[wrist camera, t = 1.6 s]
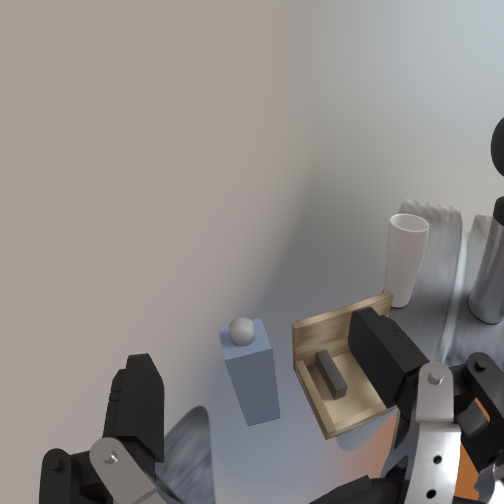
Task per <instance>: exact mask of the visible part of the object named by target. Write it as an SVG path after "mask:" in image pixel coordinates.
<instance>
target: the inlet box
mask: <svg viewBox="0 0 504 504" xmlns="http://www.w3.org/2000/svg"><path fill="white" fill-rule="evenodd" d="M393 296H394V295H393V294H392V293H391V292H390V291H388V292H385V293H382V294H380V295H377V296H374V297H372V298H369V299H366V300H363V301H360V302H358V303H354V304H351V305H348V306H345V307H343V308H339V309H336V310H333V311H330V312H327V313H324V314H321V315H317V316H314V317H311V318H307V319H304V320H301V321H297V322H294V323H292V335H293V336H292V337H293V367H294V370H295V372H296V374H297V377H298V379H299V381H300V383H301V386H302V388H303V390H304V393H305V395H306V397H307V399H308V402H309V404H310V406H311V408H312V410H313V413H314V415H315V417H316V419H317V422H318V424H319V426H320V428H321V430H322V433H323V434H324V437H325V439H326V440H327V439H330V438H333V437H335V436H338V435H340V434H342V433H345V432H347V431H350V430H352V429H354V428H356V427H359V426H361V425H363V424H365V423H367V422H369V421H371V420H373V419H375V418H377V417H379V416H381V415H383V414H385V413H387V412H389V411H391V410H393V409H395V408H396V407H397V405H396V406H394V407H392V408H389V409H387V408H386V407H385V405H384V403H383V402H382V400H381V399H380V397H379V395H378V394H377V392H376V391H375V389H374V387H373V386H372V384H371V383H370V381H369V380H368V378H367V376H366V375H365V373H364V372H363V370H362V369H361V367H360V365H359V364H358V362H357V361H356V359H355V358H354V356H353V355H352V353H351V351H350V349H349V346H348V334H349V327H350V320H351V314H352V312H353V311H356V310H359V309H363V308H366V307H372V308H373V309H374V310H375V311H376V312H377V314H378V315H379V316H381V315H385V316H386V317H389V313H390V309H391V305H392V301H393Z"/></svg>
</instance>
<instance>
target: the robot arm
mask: <svg viewBox="0 0 504 504" xmlns="http://www.w3.org/2000/svg"><path fill="white" fill-rule="evenodd" d="M491 156H492V160H493V163H494V166H495V167H496V169H497V171H498V172H499V173H500V174H501V175H502V176H504V118H503V119H501V120H500V122H499V123H498V124H497V126H496V128H495V130H494V133H493V136H492V141H491ZM468 305H469V308H470V310H471V311H472V313H473V314H474V315H475V316H476V317H477V318H479V319H480V320H482V321H484V322H486V323H491V324H495V323H499V322H501V321H502V320H503V318H504V196H503V197H500V198H498V199H497V200H496V203H495V206H494V212H493V217H492V222H491V226H490V231H489V235H488V239H487V243H486V247H485V251H484V254H483V258H482V261H481V264H480V268H479V271H478V274H477V277H476V280H475V282H474V285H473V288H472V291H471V294H470V296H469V299H468ZM348 346H349V349H350V351H351V353H352V355H353V356H354V358H355V359H356V361H357V362H358V364H359V365H360V367H361V369H362V370H363V372H364V373H365V375H366V376H367V378H368V380H369V381H370V383H371V384H372V386H373V387H374V389H375V391H376V392H377V394H378V395H379V397H380V399H381V400H382V402H383V403H384V405H385V407H386V408H387V409H389V408H392V407H394V406H396V405H397V407H398V408H399V411H398V414H397V419H396V425H395V431H394V436H393V441H392V445H391V449H390V453H389V455H388V457H387V459H386V461H385V464H384V466H383V469H382V472H381V476H380V478H373V479H369V477H368V475H366V476H364V477H361V478H359V479H357V480H354V481H352V482H349V483H347V484H344V485H342V486H339V487H337V488H335V489H334V490H332V491H330V492H329V493H327V494H325V495H323V496H322V497H320V498H318V499H316V500H315V501H313V502H311V503H309V504H504V373H503V372H502V371H501V370H500V368H499V367H498V366H497V365H496V364H495V362H494V361H493V360H492V359H491V358H490V357H489V356H488V355H486V354H484V353H481V352H476V353H473V354H471V355H470V356H469V358H468V360H467V361H466V363H465V364H462V365H457V366H453V367H447V366H446V365H444V364H442V363H440V362H430V361H429V360H428V359H427V358H426V357H425V355H424V354H423V353H422V352H421V351H420V350H419V348H418V347H417V346H416V345H415V344H414V343H413V342H412V340H411V339H410V338H409V337H407V335H406V334H405V332H404V331H403V330H401V328H400V327H399V326H398V325H397V324H396V322H395V321H394V320H392V319H390V318H388V317H386V316H385V315H381V316H379V315H378V314H377V312H376V311H375V310H374V309H373V308H372V307H366V308H363V309H359V310H356V311H353V312H352V314H351V320H350V327H349V334H348ZM476 397H477V398H478V400H479V401H480V403H481V404H482V405H483V407H484V408H485V410H486V411H487V413H488V414H489V417H490V422H489V421H488V420H487V418H486V417H485V416H484V414H483V412H482V411H481V410H480V408H479V407H478V405H477V404H476V402H475V401H474V400H475V399H476ZM460 441H461V443H462V444H463V446H464V448H465V450H466V451H467V453H468V455H469V457H470V459H471V461H472V462H473V464H474V466H475V468H476V470H477V472H478V474H479V476H478V480H477V482H476V483H475V485H474V489H475V490H476V491H479V498H478V501H475V500H471V499H465V498H461V497H457V496H453V495H454V489H455V483H456V477H457V470H458V461H459V452H460ZM155 462H164V385H163V381H162V378H161V376H160V374H159V372H158V371H157V369H156V367H155V365H154V363H153V361H152V359H151V357H150V356H149V354H147V353H146V354H138V355H130V356H128V359H127V364H126V369H120V370H119V371H118V372H117V374H116V376H115V377H114V379H113V381H112V386H111V393H110V396H109V403H108V407H107V413H106V419H105V426H104V431H103V436H102V439H99V440H98V441H96V442H95V443H94V444H93V445H92V447H91V449H90V450H89V451H86V452H82V453H77V454H72V455H69V454H68V453H66V452H65V451H64V450H62V449H58V448H57V449H56V448H55V449H52V450H50V451H48V452H47V453H46V454H45V456H44V458H43V462H42V470H41V479H40V491H39V504H113V498H114V499H115V501H116V502H117V503H118V504H186V503H185V502H184V501H183V500H182V499H181V498H180V497H179V496H178V495H177V494H176V493H175V492H174V491H173V490H172V489H171V488H170V487H169V486H168V485H167V484H166V483H165V482H164V480H163V479H162V478H161V477H160V476H159V475H158V474H157V473H156V472H155Z"/></svg>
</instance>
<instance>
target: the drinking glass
mask: <svg viewBox="0 0 504 504" xmlns="http://www.w3.org/2000/svg"><path fill="white" fill-rule="evenodd" d="M429 227H430V226H429V223H428V222H427V221H426V220H424V219H423V218H421V217H418V216H415V215H410V214H397V215H394V216H392V217H391V218H390V222H389V229H388V237H387V253H386V271H385V283H384V290H383V293H385V292H388V291H390V292H391V293H392V294H393V295H394V296H393V301H392V305H391V306H392V307H396V308H400V307H404V306H406V305H407V304H408V303H409V301H410V299H411V295H412V292H413V289H414V286H415V283H416V280H417V277H418V274H419V271H420V268H421V265H422V262H423V259H424V255H425V251H426V247H427V242H428V236H429Z"/></svg>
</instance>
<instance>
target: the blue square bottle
mask: <svg viewBox="0 0 504 504" xmlns="http://www.w3.org/2000/svg"><path fill="white" fill-rule="evenodd" d="M218 330H219V335H220V340H221V345H222V350H223V354H224V359H225V363H226V366H227V369H228V372H229V375H230V378H231V380H232V383H233V386H234V389H235V392H236V394H237V397H238V400H239V403H240V406H241V409H242V411H243V414H244V417H245V419H246V422H247V425H248V426H251V425H255V424H259V423H263V422H267V421H271V420H274V419H278V418H280V411H279V402H278V394H277V385H276V377H275V368H274V360H273V352H272V347H271V345H270V341H269V339H268V336H267V334H266V331H265V329H264V326H263V324H262V321H261V318H257V319H253V320H250V319H248V318H237V319H235V320H233V321H232V322H231V323H230V325H228V326H223V327H219V328H218Z"/></svg>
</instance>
